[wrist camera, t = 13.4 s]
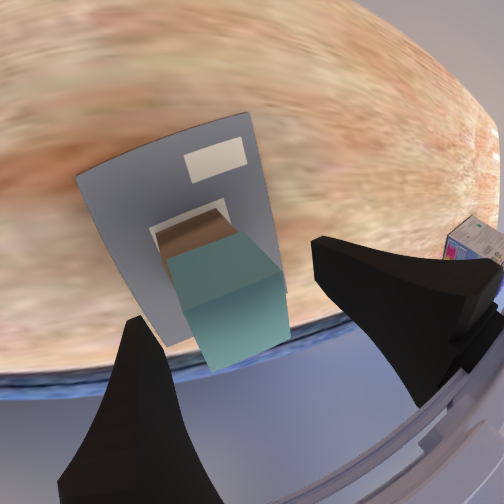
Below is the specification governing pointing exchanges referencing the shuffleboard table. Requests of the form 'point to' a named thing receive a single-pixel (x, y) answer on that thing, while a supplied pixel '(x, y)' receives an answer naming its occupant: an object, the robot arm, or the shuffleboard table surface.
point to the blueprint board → (177, 206)
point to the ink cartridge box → (476, 243)
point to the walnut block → (192, 235)
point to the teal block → (231, 299)
